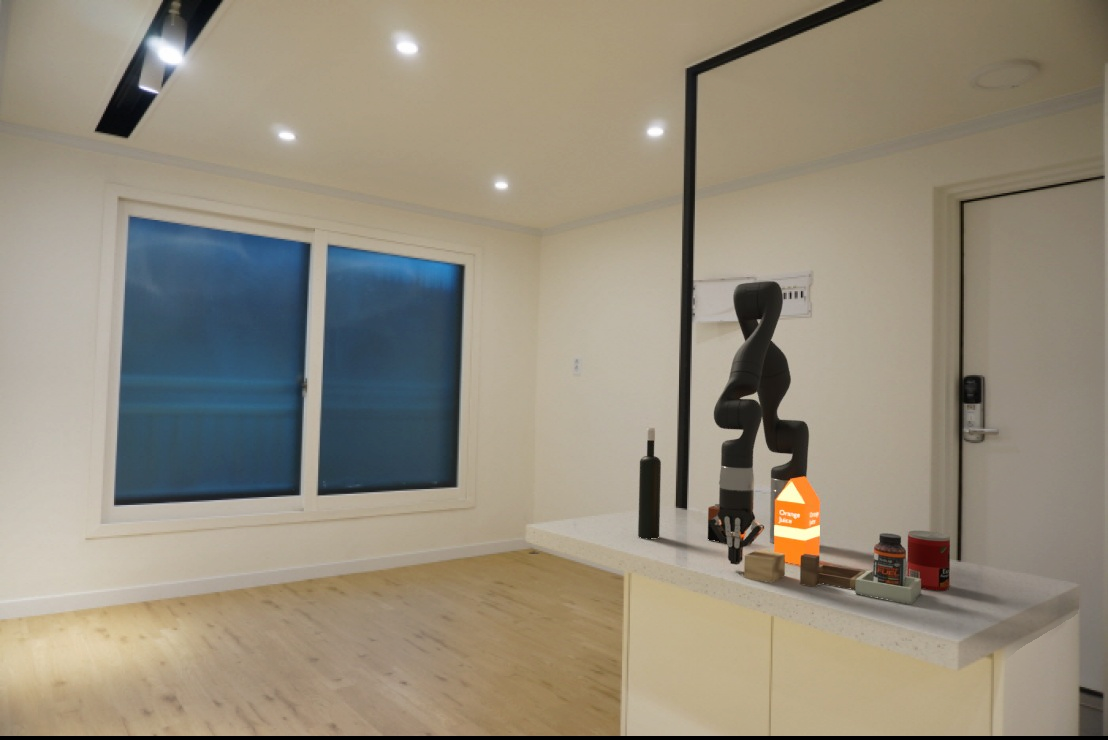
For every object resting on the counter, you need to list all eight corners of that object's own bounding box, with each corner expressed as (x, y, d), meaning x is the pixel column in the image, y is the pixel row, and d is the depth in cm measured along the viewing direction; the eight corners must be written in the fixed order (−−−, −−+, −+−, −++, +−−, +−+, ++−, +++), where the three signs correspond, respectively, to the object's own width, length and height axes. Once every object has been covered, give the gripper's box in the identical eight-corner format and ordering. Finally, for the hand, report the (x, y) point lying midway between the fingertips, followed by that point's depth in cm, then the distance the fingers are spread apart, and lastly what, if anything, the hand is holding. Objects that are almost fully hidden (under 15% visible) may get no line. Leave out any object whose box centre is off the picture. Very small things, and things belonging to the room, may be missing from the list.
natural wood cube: (758, 571, 158) (758, 549, 158) (784, 576, 155) (785, 553, 155) (744, 578, 152) (744, 555, 152) (771, 583, 148) (771, 560, 148)
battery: (733, 539, 193) (733, 503, 193) (721, 543, 187) (722, 505, 188) (718, 537, 195) (719, 501, 196) (706, 540, 190) (707, 503, 191)
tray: (868, 584, 149) (868, 570, 149) (920, 593, 143) (921, 578, 143) (855, 594, 141) (855, 579, 141) (910, 604, 135) (910, 588, 135)
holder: (821, 572, 158) (821, 564, 158) (865, 580, 152) (865, 571, 152) (807, 581, 151) (807, 571, 151) (853, 589, 145) (853, 579, 145)
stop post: (804, 581, 150) (805, 553, 150) (819, 584, 148) (819, 555, 148) (800, 584, 148) (800, 555, 148) (814, 587, 146) (814, 558, 146)
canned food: (948, 593, 144) (949, 539, 144) (905, 586, 148) (905, 534, 149) (950, 585, 151) (950, 533, 151) (909, 579, 155) (909, 528, 155)
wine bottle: (644, 534, 197) (646, 427, 198) (662, 537, 193) (665, 428, 194) (634, 537, 192) (636, 427, 193) (653, 540, 189) (655, 428, 190)
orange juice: (773, 560, 169) (774, 477, 170) (789, 554, 175) (790, 474, 176) (804, 566, 164) (806, 480, 164) (820, 560, 170) (821, 478, 171)
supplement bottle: (873, 592, 141) (874, 536, 141) (872, 585, 146) (872, 530, 146) (906, 596, 138) (907, 539, 139) (904, 589, 144) (904, 533, 144)
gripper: (771, 488, 158) (769, 565, 157) (716, 482, 166) (715, 556, 165) (758, 491, 152) (756, 572, 151) (702, 485, 160) (700, 561, 159)
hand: (735, 563), depth 158 cm, fingers closed
